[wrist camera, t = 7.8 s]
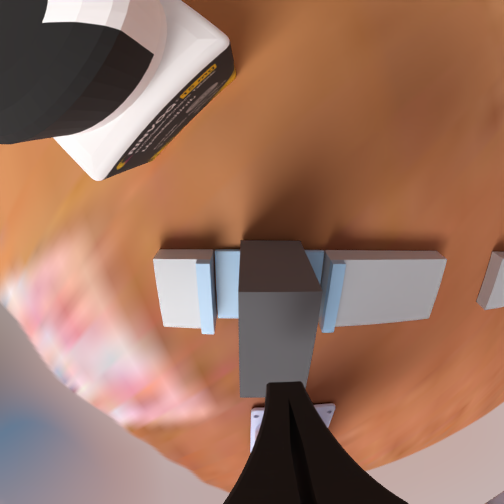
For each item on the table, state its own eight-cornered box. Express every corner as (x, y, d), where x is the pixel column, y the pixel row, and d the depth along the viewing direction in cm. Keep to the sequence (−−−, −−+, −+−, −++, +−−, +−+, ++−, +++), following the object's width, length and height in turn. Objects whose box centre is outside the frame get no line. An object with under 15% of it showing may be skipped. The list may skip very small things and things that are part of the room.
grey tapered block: (291, 332, 21) (303, 395, 15) (241, 332, 21) (240, 397, 15) (300, 240, 18) (322, 291, 12) (240, 240, 18) (238, 291, 12)
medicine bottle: (152, 163, 16) (10, 231, 5) (79, 93, 14) (-76, 90, 3) (239, 76, 14) (223, -33, 3) (157, 9, 12) (58, -97, 1)
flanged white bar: (497, 298, 21) (509, 309, 19) (168, 313, 20) (161, 331, 18) (512, 251, 19) (526, 261, 17) (159, 249, 18) (150, 263, 16)
